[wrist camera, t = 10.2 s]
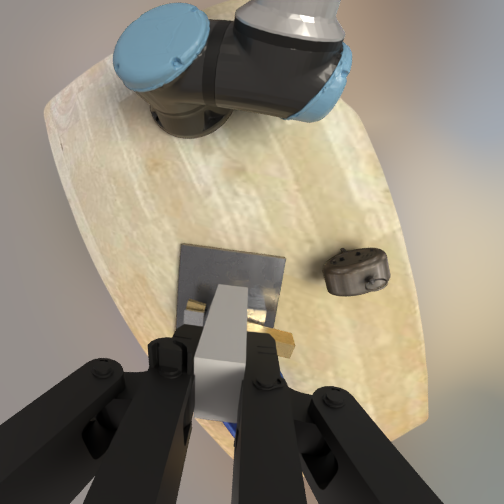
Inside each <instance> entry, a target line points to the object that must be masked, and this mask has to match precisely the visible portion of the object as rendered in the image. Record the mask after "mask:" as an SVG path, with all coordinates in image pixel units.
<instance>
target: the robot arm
mask: <svg viewBox="0 0 504 504" xmlns="http://www.w3.org/2000/svg"><path fill="white" fill-rule="evenodd" d="M340 1H341V0H251V1H249V2H247V3H246V4H244V5H243V6H241V7H240V8H238V9H237V10H236V12H235V20H234V21H226V20H212V19H208V17H207V15H206V14H205V13H204V12H202V11H200V10H199V9H198V8H197V7H196V6H193V5H191V4H187V3H170V4H165V5H162V6H159V7H156V8H153V9H151V10H149V11H147V12H146V13H144V14H142V15H141V16H140V17H139V18H138V19H137V20H135V21H134V22H132V23H131V24H130V25H129V26H128V27H127V28H126V29H125V31H124V32H123V33H122V35H121V36H120V38H119V40H118V41H117V44H116V46H115V50H114V53H113V66H114V69H115V72H116V74H117V75H118V76H119V78H120V79H121V80H122V81H123V83H124V85H125V86H126V87H127V88H129V89H130V90H133V91H134V92H135V93H137V94H138V95H139V96H140V97H141V98H143V99H144V100H145V101H146V102H147V103H149V104H150V111H151V114H152V116H153V118H154V120H155V122H156V123H157V124H158V125H159V126H160V127H161V128H162V129H163V130H165V131H166V132H167V133H169V134H171V135H173V136H176V137H180V138H198V137H202V136H205V135H208V134H210V133H212V132H214V131H215V130H217V129H218V128H219V127H221V126H222V125H223V124H224V123H225V122H226V121H227V119H228V118H229V116H230V115H231V113H232V111H233V109H236V110H243V111H249V112H254V113H260V114H265V115H271V116H276V117H280V118H281V119H283V120H297V121H302V122H307V123H311V122H316V121H319V120H321V119H323V118H324V117H325V116H326V115H328V113H329V112H330V111H331V110H332V109H333V107H334V106H335V104H336V103H337V101H338V99H339V98H340V96H341V94H342V92H343V90H344V87H345V85H346V82H347V80H346V77H347V75H348V74H349V72H350V69H351V65H352V52H351V50H350V48H349V47H348V46H347V45H346V44H345V43H344V42H343V40H344V37H345V32H344V30H343V28H342V27H341V25H340V24H339V22H338V21H337V18H336V14H337V10H338V7H339V4H340ZM247 303H248V288H247V287H239V286H230V285H222V284H218V287H217V290H216V293H215V296H214V299H213V302H212V305H211V308H210V311H209V314H208V317H207V320H206V323H205V326H204V327H203V326H196V325H189V324H183V325H182V326H180V327H179V328H177V329H176V331H175V333H174V335H173V337H172V338H169V337H165V338H158V339H156V340H153V341H151V342H150V343H149V344H148V357H149V369H148V371H145V372H123V368H122V366H121V365H120V364H119V363H118V362H116V361H115V360H111V359H108V358H98V359H94V360H92V361H89V362H88V363H86V364H84V365H83V366H82V367H80V368H79V369H77V370H76V371H75V372H73V373H72V374H70V375H69V376H68V377H66V378H65V379H64V380H62V381H61V382H60V383H58V384H57V385H55V386H54V387H53V388H51V389H50V390H48V391H47V392H46V393H44V394H43V395H41V396H40V397H39V398H37V399H36V400H34V401H33V402H32V403H30V404H29V405H27V406H26V407H25V408H23V409H22V410H21V411H19V412H18V413H16V414H15V415H14V416H12V417H11V418H10V419H8V420H7V421H5V422H4V423H3V424H1V425H0V504H70V503H71V502H72V500H74V498H75V497H76V496H77V495H78V494H79V493H80V492H81V491H82V490H83V489H84V487H85V486H86V485H87V484H88V483H89V482H90V481H91V480H92V479H93V477H94V476H95V478H94V480H93V482H92V485H91V487H90V489H89V491H88V493H87V495H86V498H85V500H84V502H83V504H176V500H177V496H178V491H179V486H180V481H181V476H182V472H183V467H184V462H185V458H186V453H187V448H188V444H189V439H190V434H191V430H192V421H191V420H192V416H193V412H194V418H200V419H206V420H214V421H222V422H231V423H237V427H236V433H235V440H234V447H235V449H234V465H233V466H234V467H233V482H232V500H231V504H307V501H306V494H305V488H304V481H303V475H302V472H303V474H304V476H305V478H306V480H307V482H308V484H309V486H310V488H311V490H312V492H313V494H314V496H315V497H316V499H317V501H318V503H319V504H444V503H443V502H441V500H440V499H439V498H438V497H437V496H436V494H435V493H434V492H433V491H432V490H431V489H430V487H429V486H428V485H427V484H426V483H425V482H424V481H423V479H422V478H421V477H420V476H419V475H418V473H417V472H416V471H415V470H414V469H413V468H412V466H411V465H410V464H409V463H408V462H407V460H406V459H405V458H404V457H403V456H402V455H401V454H400V452H399V451H398V450H397V449H396V447H395V446H394V445H393V444H392V443H391V442H390V440H389V439H388V438H387V437H386V436H385V434H384V433H383V432H382V431H381V430H380V428H379V427H378V426H377V425H376V424H375V422H374V421H373V420H372V419H371V418H370V416H369V415H368V414H367V413H366V412H365V410H364V409H363V408H362V407H361V406H360V404H359V403H358V402H357V401H356V399H355V398H354V397H353V396H352V395H351V394H350V393H349V392H348V391H346V390H344V389H342V388H339V387H334V386H324V387H321V388H318V389H317V390H316V391H315V392H314V393H313V395H309V394H305V393H301V392H298V391H295V390H293V389H291V388H289V387H288V386H287V383H286V381H285V379H284V378H282V377H281V374H280V367H279V361H278V355H277V349H276V342H275V339H274V338H273V337H272V336H271V335H270V334H269V333H260V332H250V331H247Z"/></svg>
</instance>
